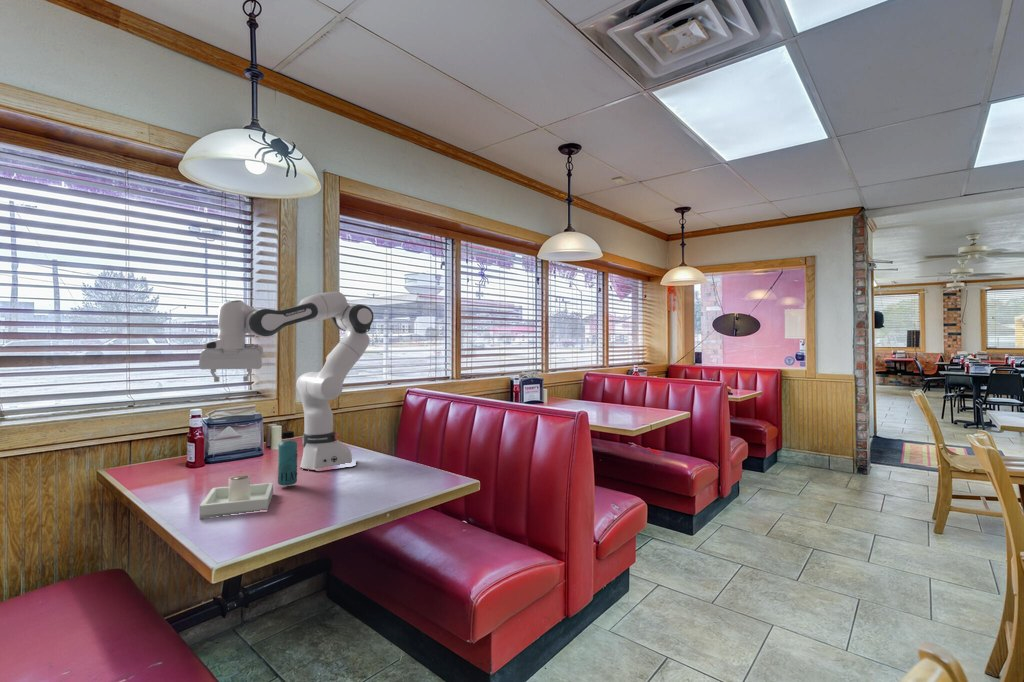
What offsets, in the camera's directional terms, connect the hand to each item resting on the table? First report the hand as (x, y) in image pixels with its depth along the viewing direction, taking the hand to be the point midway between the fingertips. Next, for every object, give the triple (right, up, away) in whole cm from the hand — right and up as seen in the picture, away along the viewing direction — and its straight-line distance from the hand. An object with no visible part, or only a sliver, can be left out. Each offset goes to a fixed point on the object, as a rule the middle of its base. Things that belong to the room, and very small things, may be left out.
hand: (231, 381), depth 181 cm
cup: (+17, -37, -25) cm, 47 cm away
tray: (+17, -38, -25) cm, 48 cm away
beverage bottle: (+23, -38, -6) cm, 45 cm away
